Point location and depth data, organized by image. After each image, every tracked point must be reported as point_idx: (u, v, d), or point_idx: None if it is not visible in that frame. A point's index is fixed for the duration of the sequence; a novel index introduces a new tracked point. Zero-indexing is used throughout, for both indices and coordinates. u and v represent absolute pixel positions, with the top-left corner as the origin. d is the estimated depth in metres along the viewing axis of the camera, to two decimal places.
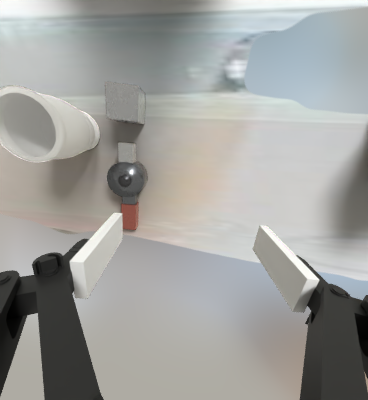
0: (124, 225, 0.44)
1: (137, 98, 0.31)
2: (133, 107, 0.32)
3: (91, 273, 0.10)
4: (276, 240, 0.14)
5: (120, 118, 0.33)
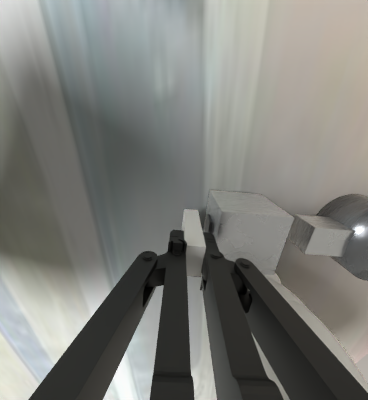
0: None
1: (246, 215, 0.14)
2: (263, 224, 0.14)
3: None
4: (195, 220, 0.16)
5: (279, 251, 0.15)
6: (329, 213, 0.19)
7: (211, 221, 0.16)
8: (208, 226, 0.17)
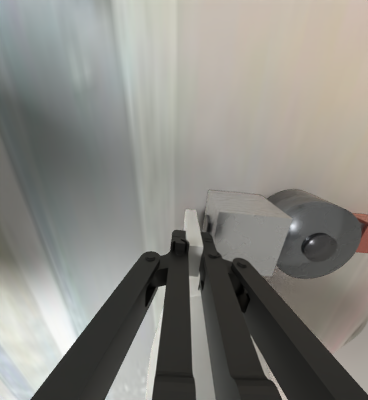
0: None
1: (243, 216, 0.14)
2: (261, 225, 0.14)
3: None
4: (193, 220, 0.16)
5: (277, 253, 0.15)
6: None
7: (209, 221, 0.16)
8: (206, 226, 0.17)
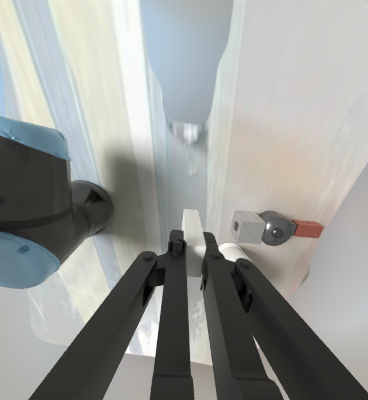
0: (315, 235, 0.47)
1: (250, 222, 0.41)
2: (255, 225, 0.42)
3: None
4: (195, 220, 0.16)
5: (261, 234, 0.43)
6: None
7: (237, 224, 0.44)
8: (235, 225, 0.44)
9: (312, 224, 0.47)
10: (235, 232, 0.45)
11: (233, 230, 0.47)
